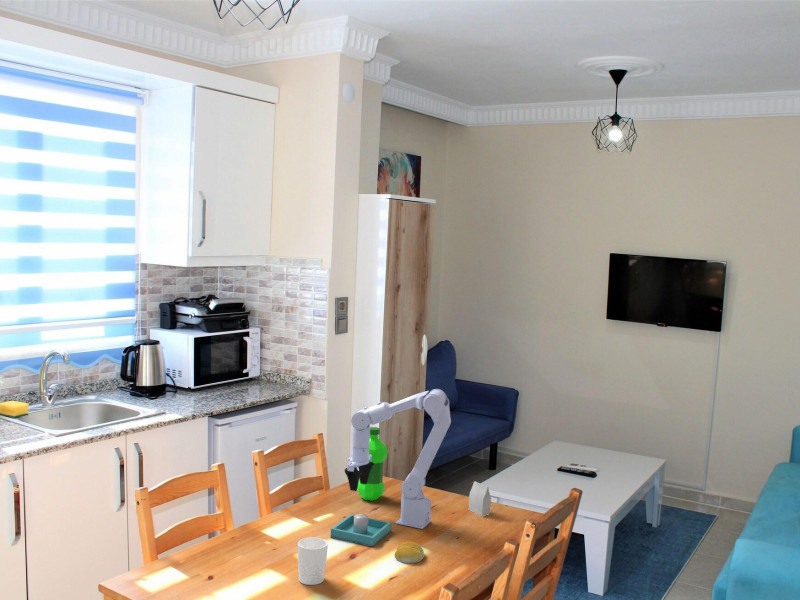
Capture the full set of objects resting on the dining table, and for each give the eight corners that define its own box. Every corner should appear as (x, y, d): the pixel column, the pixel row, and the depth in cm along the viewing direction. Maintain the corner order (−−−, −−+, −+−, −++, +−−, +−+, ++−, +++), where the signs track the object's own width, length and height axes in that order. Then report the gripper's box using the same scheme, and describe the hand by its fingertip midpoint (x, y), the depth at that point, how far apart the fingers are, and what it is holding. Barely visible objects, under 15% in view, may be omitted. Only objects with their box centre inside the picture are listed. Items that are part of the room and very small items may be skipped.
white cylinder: (370, 531, 234) (371, 515, 233) (363, 536, 230) (364, 520, 229) (357, 528, 236) (358, 512, 235) (350, 532, 232) (351, 517, 231)
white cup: (297, 572, 204) (298, 537, 203) (326, 573, 204) (327, 537, 204) (295, 586, 196) (297, 549, 195) (326, 586, 197) (327, 549, 196)
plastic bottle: (357, 492, 271) (361, 423, 269) (386, 494, 270) (390, 426, 268) (353, 501, 261) (356, 430, 259) (383, 504, 260) (387, 433, 258)
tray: (390, 530, 237) (391, 522, 236) (372, 546, 224) (372, 537, 223) (350, 522, 242) (351, 514, 242) (330, 537, 229) (330, 528, 229)
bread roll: (392, 562, 214) (393, 548, 214) (398, 550, 223) (398, 537, 222) (421, 566, 212) (421, 552, 212) (425, 553, 221) (426, 540, 221)
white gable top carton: (481, 517, 253) (483, 487, 252) (468, 510, 258) (470, 482, 258) (489, 515, 255) (491, 486, 254) (476, 508, 261) (478, 480, 260)
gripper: (359, 439, 255) (357, 479, 256) (339, 449, 242) (337, 491, 243) (378, 442, 252) (376, 482, 253) (359, 453, 239) (357, 495, 240)
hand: (358, 487), depth 248 cm, fingers open, 7 cm apart
